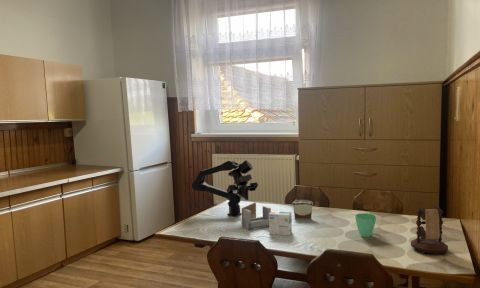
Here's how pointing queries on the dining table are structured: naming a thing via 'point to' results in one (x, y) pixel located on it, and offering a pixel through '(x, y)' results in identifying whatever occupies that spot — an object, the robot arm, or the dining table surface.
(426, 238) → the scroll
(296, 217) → the food container
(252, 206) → the cover
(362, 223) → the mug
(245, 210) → the grey u-channel
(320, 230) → the dining table surface
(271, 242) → the dining table surface
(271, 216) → the light bulb box
